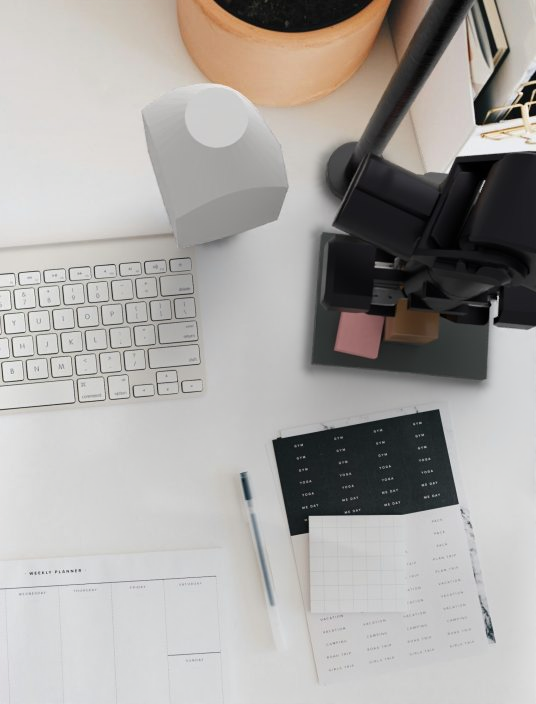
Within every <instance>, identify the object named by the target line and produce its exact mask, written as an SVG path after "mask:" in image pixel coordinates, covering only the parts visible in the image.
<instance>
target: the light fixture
mask: <svg viewBox="0 0 536 704" xmlns="http://www.w3.org/2000/svg"><path fill="white" fill-rule="evenodd" d="M140 112H141V117H142V118H141V119H142V124H143V131H144V136H145V143H146V149H147V154H148V157H149V160H150V164H151V167H152V170H153V174H154V178H155V181H156V183H157V184H156V185H157V187H158V190H159V193H160V196H161V200H162V203H163V206H164V209H165V212H166V215H167V218H168V222H169V225H170V228H171V230H172V234H173V237H174V240H175V243H176V246H177V248H178V249H184V248H188V247H194V246H198V245H202V244H206V243H210V242H214V241H218V240H221V239H224V238H228V237H232V236H234V235H235V236H236V235H238V234H241V233H244V232H247V231H250V230H253V229H257V228H259V227H262V226H265V225H268V224H271V223H273V222H275V221H278V220H279V217H280V214H281V211H282V207H283V205H284V202H285V200H286V196H287V193H288V190H289V187H290V186H289V180H288V175H287V169H286V162H285V159H284V158H285V157H284V153H283V149H282V144H281V143H280V141H279V140H278V138H277V136H276V135H275V133H274V132H273V130H272V128H271V127H270V126H269V124H268V123H267V121H266V120H265V118H264V117H263V115H262V114H261V112H260V111H259V109H258V108H257V107H256V105H254V104H253V103H252V102H251V101H250V100H249V99H248V98H247V97H246V96H245V95H244V94H242V92H240V91H238V90H236V89H234V88H232V87H231V86H227V85H224V84H220V83H207V82H205V83H195V84H189V85H184V86H180V87H176V88H175V87H174V88H172V89H171V90H169V91H167V92H165V93H164V94H162V95H161V96H158V97H157V98H156V99H154V100H153V101H152V102H150V103H149V104H147V105H146V106H145V107H143V108H142V109H141V110H140Z"/></svg>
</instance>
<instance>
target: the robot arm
mask: <svg viewBox="0 0 536 704" xmlns="http://www.w3.org/2000/svg"><path fill="white" fill-rule="evenodd" d="M383 158H384V157H383ZM383 158H381V157H379V156H377V155H375V154H373V153H371V152H370V153H367V152H366V154H365V156H364V158H363V160H362V162H361V163H360V165H359V167H358V169H357V171H356V173H355V175H354V177H353V179H352V182H351V184H350V186H349V188H348V190H347V192H346V194H345V196H344V198H343V200H341V203H340V205H339V207H338V209H337V211H336V213H335V216H334V218H333V221H332V223H331V227H333V228H335V229H337V230H339V231H341V232H343V233H344V234H347V235H338V234H339V233H337V234H335V235H334V236H333V237H331V238H330V239H329V240H328V241H327V243H326V244H325V246H324V259H323V272H322V285H321V298H320V304H321V305H322V306H323V307H324V309H325V310H327V311H337V312H348V313H365V314H367V315H375V316H385V317H395V308H396V303H397V302H398V300H399V299H403V300H407V310H411V311H422V312H432V313H440V315H439V316H440V317H442V318H445V319H447V320H449V321H451V322H454V323H458V324H468V325H478V326H484V325H486V324H487V323H488V321H489V322H490V315H489V313H491V307H492V304H493V303H495V302H496V301H498V302H497V315H496V316H495V317H493V319H492V321H493V322H492V326H495V327H497V328H503V329H512V330H513V329H514V330H524V331H528V330H531V329H534V328H536V150H521V151H510V152H509V151H508V152H497V153H496V152H495V153H483V154H473V155H470V154H469V155H458V156H455V158H454V160H453V163H452V165H451V167H450V169H449V171H448V173H446V172H437V171H429V172H425V173H424V174H420V173H415V172H413V171H412V170H410V169H409V170H408V169H407V168H404V167H402V166H400V165H398V164H396V163H394V162H393V161H390V160H387V159H386V158H384V159H383ZM348 235H352V236H348ZM402 267H403V270H401V269H402ZM398 268H399V269H398ZM400 286H403V288H402V290H401V289H400Z"/></svg>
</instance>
